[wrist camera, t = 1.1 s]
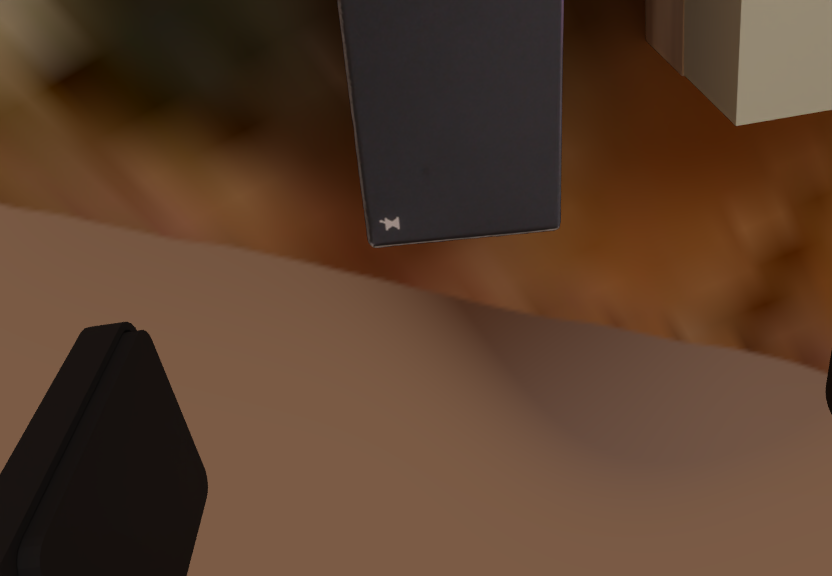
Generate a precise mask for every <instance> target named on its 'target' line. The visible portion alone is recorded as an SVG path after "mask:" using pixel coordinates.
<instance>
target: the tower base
mask: <svg viewBox="0 0 832 576" xmlns="http://www.w3.org/2000/svg"><path fill="white" fill-rule="evenodd" d="M645 26H646V41H647V42H648V43H649V44H650V45H651V46H652V47H653V48H654V49H655V50H656V51H657V52H658V53H659V54H660V55H661V56H662V57H663V58H664V59H665V60H666V61H667V62H668V63H669V64H670V65H671V66H672V67H673V68H674V69H675V70H676V71H677V72H678V73H680V74H681V75H682V76H685V75H684V0H645Z"/></svg>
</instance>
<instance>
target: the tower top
mask: <svg viewBox="0 0 832 576" xmlns="http://www.w3.org/2000/svg"><path fill="white" fill-rule="evenodd" d="M684 75H685V76H686V77H687V78H688V79H689V80H690V81H691V82H692V83H693V84H694V85H695V86H696V87H697V88H698V89H699V90H700V91H701V92H702V93H703V94H704V95H705V96H706V97H707V98H708V99H709V100H710V101H711V102H712V103H713V104H714V105H715V106H716V107H717V108H718V109H719V110H720V111H721V112H722V113H723V114H724V115H725V116H726V117H727V118H728V119H729V120H730V121H731V122H732V123H733V124H734V125H735V126H739V125H745V124H751V123H757V122H763V121H769V120H774V119H780V118H786V117H792V116H798V115H804V114H810V113H816V112H821V111H827V110H832V0H684Z"/></svg>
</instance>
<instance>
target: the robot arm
mask: <svg viewBox="0 0 832 576" xmlns="http://www.w3.org/2000/svg"><path fill="white" fill-rule="evenodd" d="M826 400H827V404H828V407H829V410H830V412H831V414H832V352H831V358H830V364H829V370H828V377H827V383H826ZM207 493H208V482H207V475H206V471H205V468H204V466H203V463H202V461H201V458H200V456H199V454H198V451H197V449H196V446H195V444H194V441H193V439H192V437H191V434H190V432H189V429H188V427H187V424H186V422H185V419H184V417H183V415H182V412H181V410H180V407H179V405H178V402H177V400H176V398H175V395H174V393H173V390H172V388H171V385H170V383H169V380H168V378H167V375H166V373H165V371H164V368H163V366H162V363H161V361H160V359H159V356H158V353H157V351H156V349H155V346H154V344H153V341H152V339H151V337H150V335H149V334H148V333H147V332H146V331H144V330H139V331H137V330H136V328H135V327H134V326H133V325H132V324H131V323H129V322H122V323H114V324H107V325H100V326H94V327H88V328H85V329H84V330H83V331H82V332H81V333H80V335H79V337H78V338H77V340H76V342H75V344H74V346H73V347H72V349H71V351H70V353H69V355H68V356H67V358H66V360H65V361H64V363H63V365H62V367H61V368H60V370H59V372H58V374H57V376H56V378H55V379H54V381H53V383H52V384H51V386H50V388H49V389H48V391H47V393H46V395H45V397H44V398H43V400H42V402H41V404H40V405H39V407H38V409H37V411H36V412H35V414H34V416H33V418H32V419H31V421H30V423H29V425H28V426H27V428H26V430H25V432H24V433H23V435H22V437H21V439H20V441H19V442H18V444H17V446H16V448H15V449H14V451H13V453H12V455H11V456H10V458H9V460H8V462H7V463H6V465H5V467H4V469H3V470H2V472H1V474H0V576H187V572H188V568H189V564H190V560H191V556H192V553H193V549H194V545H195V541H196V537H197V533H198V529H199V525H200V522H201V517H202V514H203V510H204V506H205V502H206V498H207Z"/></svg>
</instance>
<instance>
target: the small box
mask: <svg viewBox="0 0 832 576" xmlns="http://www.w3.org/2000/svg"><path fill="white" fill-rule="evenodd" d="M337 5H338V11H339V21H340V30H341V36H342V43H343V52H344V61H345V70H346V77H347V84H348V91H349V101H350V108H351V115H352V122H353V128H354V137H355V147H356V154H357V161H358V172H359V177H360V186H361V193H362V200H363V208H364V215H365V223H366V231H367V239H368V242H369V244H370V245H371V246H372V247H374V248H381V247H390V246H398V245H405V244H419V243H429V242H441V241H450V240H460V239H471V238H481V237H492V236H503V235H514V234H526V233H533V232H544V231H554V230H557V229H558V228H559V227H560V222H561V149H562V76H563V19H564V0H337Z"/></svg>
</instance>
